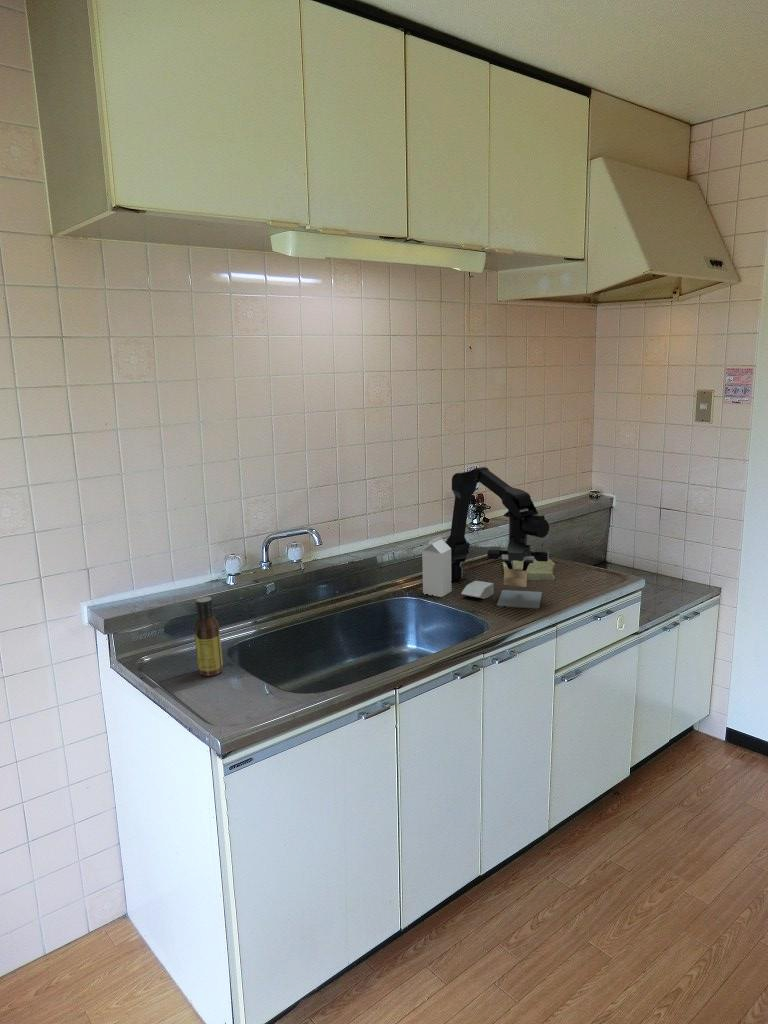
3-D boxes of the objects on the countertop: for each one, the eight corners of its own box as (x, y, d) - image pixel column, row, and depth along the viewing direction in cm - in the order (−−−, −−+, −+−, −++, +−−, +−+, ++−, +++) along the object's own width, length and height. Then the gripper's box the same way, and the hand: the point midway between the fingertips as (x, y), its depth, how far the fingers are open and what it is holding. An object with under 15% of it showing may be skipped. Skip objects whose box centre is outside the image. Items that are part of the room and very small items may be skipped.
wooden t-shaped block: (503, 584, 230) (504, 569, 229) (510, 576, 240) (511, 561, 240) (525, 587, 228) (526, 571, 227) (532, 578, 238) (532, 563, 237)
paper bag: (475, 580, 246) (460, 588, 238) (493, 583, 242) (479, 591, 234) (475, 590, 247) (460, 599, 239) (493, 594, 243) (479, 602, 235)
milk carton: (451, 591, 246) (451, 537, 242) (441, 597, 240) (440, 541, 237) (433, 588, 250) (432, 534, 246) (422, 594, 244) (421, 539, 240)
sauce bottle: (207, 666, 191) (201, 593, 187) (228, 669, 189) (222, 595, 185) (192, 676, 185) (186, 601, 181) (213, 679, 183) (207, 603, 179)
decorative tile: (505, 581, 257) (505, 572, 257) (502, 565, 277) (502, 556, 276) (559, 581, 255) (559, 572, 255) (552, 566, 275) (552, 556, 274)
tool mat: (496, 606, 231) (496, 604, 231) (502, 591, 245) (502, 589, 245) (538, 608, 227) (538, 606, 227) (541, 593, 241) (541, 592, 241)
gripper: (484, 537, 225) (484, 585, 228) (547, 539, 220) (546, 589, 223) (489, 528, 235) (489, 575, 238) (549, 531, 230) (548, 578, 233)
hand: (517, 579), depth 233 cm, fingers closed on wooden t-shaped block, 3 cm apart
